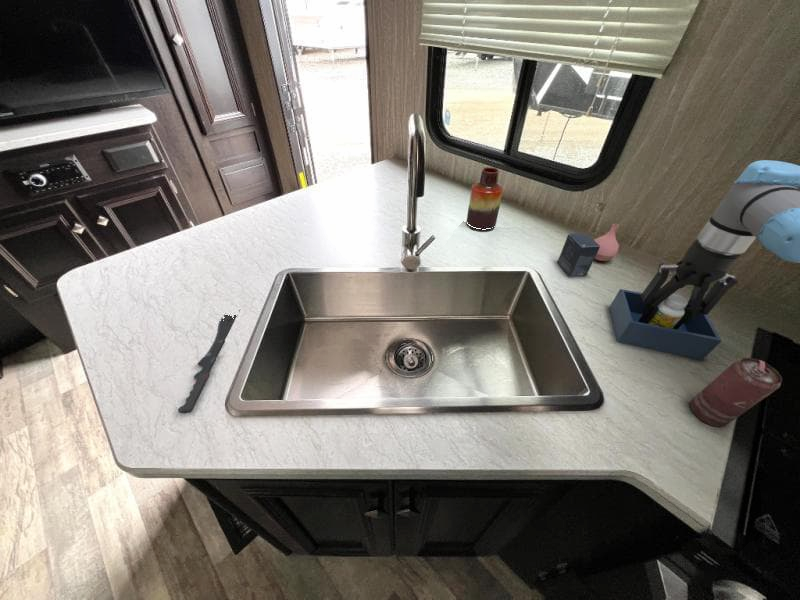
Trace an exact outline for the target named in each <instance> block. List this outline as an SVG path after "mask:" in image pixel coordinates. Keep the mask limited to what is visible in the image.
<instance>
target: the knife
mask: <svg viewBox="0 0 800 600" xmlns="http://www.w3.org/2000/svg"><path fill="white" fill-rule="evenodd" d="M240 311H241V309H240V310H239V312H240ZM223 316H224V317H225V318H224V319H223V318H222V317H220V320H221V321H220V320H219V321H218V324H217V330H216V335H215V338H214V340H213V342H212V344H211V346H210V348H209V350H208V351H207V353H206V354H205V355H204V356H203V357H201V359H200V360H199V361H198V363H197V365H198V366H201V367H202V368H201V369H200V371H198V372H197V373H195V374H194V375H193V378H194V380H195V383H194V384H193V385H192V389H191V390H190V391H189V395H188V396H187V397H186V398H185V403H184V404H183V405H182V406H179V407H178V409H177V412H179V413H190V412H192V410H193V408H194V406H195V404H196V402H197V401H198V398H199V396H200V394H201V392H202V390H203V388H204V387H205V384H206V382H207V380H208V379H209V377H210V371H211V369H212V367H213V365H214V363H215V361H216V359H217V357H218V355H219V353H220V351H221V349H222V347H223V345H224V343H225V342H226V338H227V337H228V335H229V333H230V332H231V329H232V327H233V325H234V323H235V321H236V319H237V317H238V315H237V316H236V315H234V317H233V318H234V319H233V318H232V316H230V315H229V316H228V315H225V314H223ZM223 320H224V321H223Z"/></svg>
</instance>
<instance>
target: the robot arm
mask: <svg viewBox="0 0 800 600" xmlns="http://www.w3.org/2000/svg"><path fill="white" fill-rule="evenodd" d="M755 240H758V241H759V242H760V244H761V245H762V246H763V247H764V248H765V249H766V250H768V251H770V252H771V253H772V254H775V255H776V256H777V257H778V258H780V259H782V260H783V261H787V262H790V263H796V264H800V165H798V164H795V163H791V162H785V161H781V160H770V159H769V160H768V159H763V160H756V161H753V162H751V163H750V164H748V165H747V166H746V167H745V168H744V170H743V171H742V172H741V174H740V175H739V177H738V178H737V179H736V180H734V182H733V183H732V185H731V187H730V188H729V190H728V191H727V193H725V196H724V197H723V199H722V200H721V201H720V203H719V205H718V206H717V207H716V209H715V210H714V212H713V213H712V215H711V217H710V218H709V219H708V220H707V222H706V224H704V226H703V228H702V229H701V230H700V232H699V233H698V235H697V236H696V239H695V240H693V242H692V243H691V245H690V246H689V247H688V248H687V250H686V251H685V253H684V255H683V257H682V259H680V260H679V261H677V262H676V263H675V264H667V263H665V262H661V263H659V265H658V268H657V272H656V274H655V275H654V276H653V278H652V279H651V280H650V282H649V283H648V284H647V286H646V287H645V289H644V290H643V292H641V293H642V294H641V298H642V301H643V303H644V304H646V305H645V306H644V307H643V309H642V311H641V312H642V316H641V318H640V319H639V322H641V323H646V324H648V323H649V322H650V321H651V319H652V318H653V317H654V315H655V314H656V312H657V311H658V310H659V309H658V307H657V306H658V305H659V304H660V303H662V302H663V301H664V300H665V299H667V298H668V297H669V296H670V295H672V294H675V292H677V291H679V290H681V289H683V288H685V287H686V286H693V287H692V290H691V294H690V296H689V299H688V301H689V302H688V305H687V309H686V308H684V310H685V313H684V315H683V316H682V318H681V319H680V320H679V321H678V323H677V324H676V325H675V326H674V328H673V329H676V330H678V328H679V327H680V326H681V325H682V324H686V323H688V322H689V320H690V319H691V318H692V317H698V316H699V315H698V314H701V313H702V314H703V315H708V314H709V313H710V312H712V310H713V309H714V307H715V306H716V305H717V304H718V303H719V301H720V300H721V299H722V298H723V296H725V294H726V293H727V292H728V291H729V290H730V289H731V288H733V287H734V286H736V285H737V284H739V280H738V279H737V277H736V276H735V275H734V274H733V273H731V272H728V273H727V271H729V270H730V269H732V267H733V266H734V265H735V264H736V262H737V261H739V259H740V258H741V257H742V254H743V253H745V252H746V251H747V250H748V249H749V248H750V247H751V245H752V244H753V243H754V241H755ZM674 272H676V273H674ZM673 273H674V274H673ZM672 274H673V276H672ZM669 277H671V278H670V280H669V281H667V280H668V278H669ZM666 281H667V282H666ZM712 283H714V284H713V286H712V287H711V288H710V290H709V287H710V285H711V284H712ZM708 290H709V291H708ZM706 293H707V294H706ZM705 294H706V295H705Z"/></svg>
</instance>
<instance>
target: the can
mask: <svg viewBox="0 0 800 600" xmlns="http://www.w3.org/2000/svg"><path fill="white" fill-rule="evenodd" d="M782 382H783V377H782V375H781V374H780V372H779V371H778V370H777V369H775V367H773V366H771V365H770V364H768V363H766V362H765V361H764V360H762V359H758V358H757V359H756V358H754V357H753V358H752V357H744V358H740V359H737V360H735V361H734V362H733V363H731V364H730V365H729V366H728V367H727V368H726V369H724V370H723V372H721V373H720V374H719V375H718V376H717V377H716V378H714V379H713V380H712V381H710V383H709V384H708V385H706V386H705V387H704V388H703V389H701V390H700V392H698V393H697V394H696V395H695V396H694V397H693V398H692V399H691V400H690V409H691V411H692V413H693V414H694V415H695V416H696V417H697V418H698V419H699V420H701V422H704V423H706V424H708V425H711V426H713V427H726V426H727V425H729V424H730V423H732V422H733V421H734V420H736V419H737V418H739V417H740V416H741V415H743V414H744V413H746V412H747V411H749V410H750V409H751V408H753V407H754V406H755V405H757V404H758V403H760V402H762V401H763V400H764V399H765V398H767V397H768V396H770V395H771V394H772V393H774V392H776V391H777V390H778V389H779V388H780V387H781V385H782Z"/></svg>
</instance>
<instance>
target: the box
mask: <svg viewBox="0 0 800 600" xmlns="http://www.w3.org/2000/svg"><path fill="white" fill-rule="evenodd" d="M594 240H595V239H593V238H592V237H591V236H590V235H589V234H588V233H586V232H572V233H568V234H567V237H566V239H565V242H564V244H563V247H562V250H561V252H560V254H559V257H558V259H557V264H558V265H559V267H561V269H562V270H563V271H564V273H565V274H566V275H567V276H568V277H569V278H572V277H573V278H574V277H586V276H587V275H588V273H589V271H590V269H591V267H592V265H593V263H594V261H595V260H596V259H595V257H596V254H597V252H598V250H599V248H600V245H599V244H597V243H596V242H595V241H594Z"/></svg>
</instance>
